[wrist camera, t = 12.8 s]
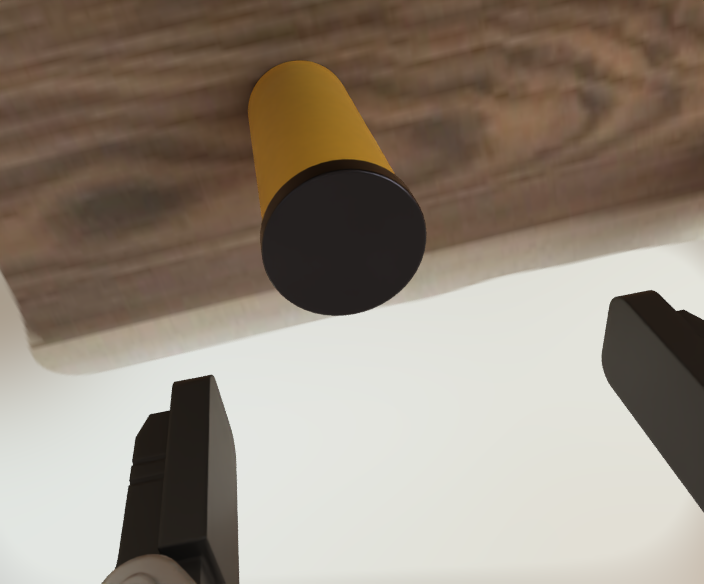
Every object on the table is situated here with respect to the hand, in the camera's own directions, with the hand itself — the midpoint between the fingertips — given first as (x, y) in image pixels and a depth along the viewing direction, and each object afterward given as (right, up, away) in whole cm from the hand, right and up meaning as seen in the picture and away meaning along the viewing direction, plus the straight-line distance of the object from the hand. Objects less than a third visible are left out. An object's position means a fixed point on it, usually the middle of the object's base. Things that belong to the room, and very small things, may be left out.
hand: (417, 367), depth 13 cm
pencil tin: (-4, +10, +17) cm, 20 cm away
